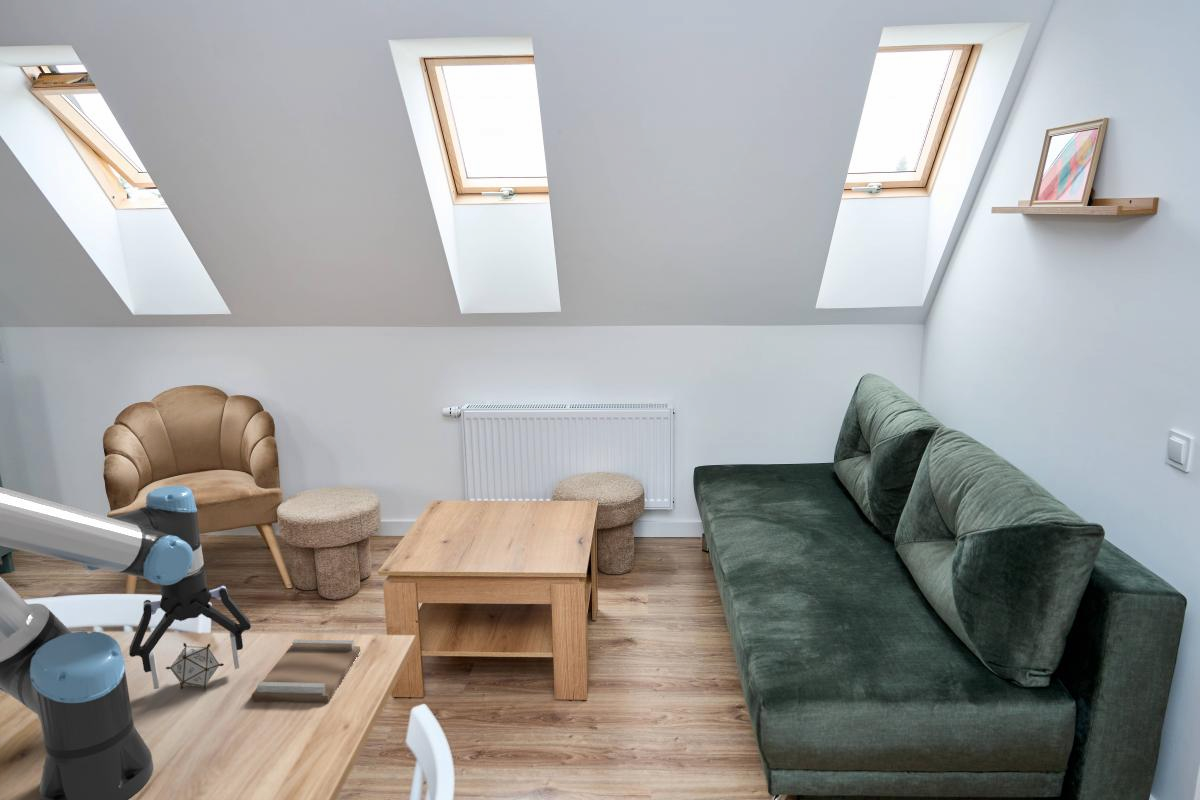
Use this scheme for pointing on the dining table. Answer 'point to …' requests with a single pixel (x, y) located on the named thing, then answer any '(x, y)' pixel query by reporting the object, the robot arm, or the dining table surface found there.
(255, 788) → the dining table surface
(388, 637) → the dining table surface
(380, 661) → the dining table surface
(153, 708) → the dining table surface
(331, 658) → the loading pallet
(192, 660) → the game die
